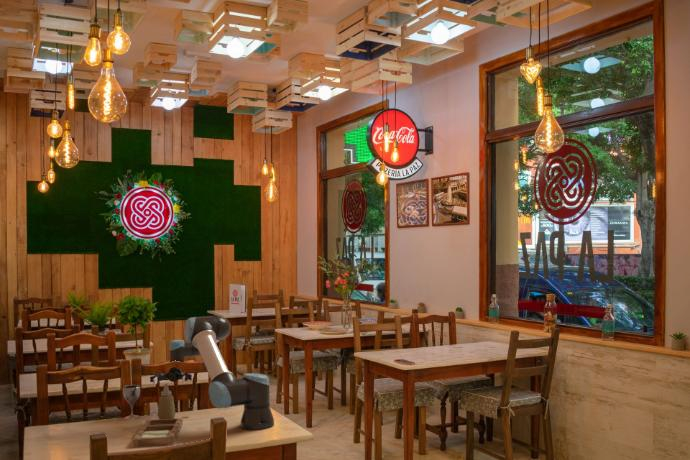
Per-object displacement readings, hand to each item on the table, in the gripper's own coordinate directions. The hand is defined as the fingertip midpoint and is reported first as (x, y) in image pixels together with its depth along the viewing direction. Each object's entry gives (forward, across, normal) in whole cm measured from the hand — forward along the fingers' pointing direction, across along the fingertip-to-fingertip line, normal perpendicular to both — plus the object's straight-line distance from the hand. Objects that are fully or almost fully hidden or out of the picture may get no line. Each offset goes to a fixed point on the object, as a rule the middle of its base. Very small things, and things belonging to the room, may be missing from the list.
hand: (168, 381), depth 317 cm
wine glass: (-4, +18, -17) cm, 26 cm away
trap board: (+32, 0, -17) cm, 36 cm away
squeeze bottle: (+10, 0, -17) cm, 20 cm away
